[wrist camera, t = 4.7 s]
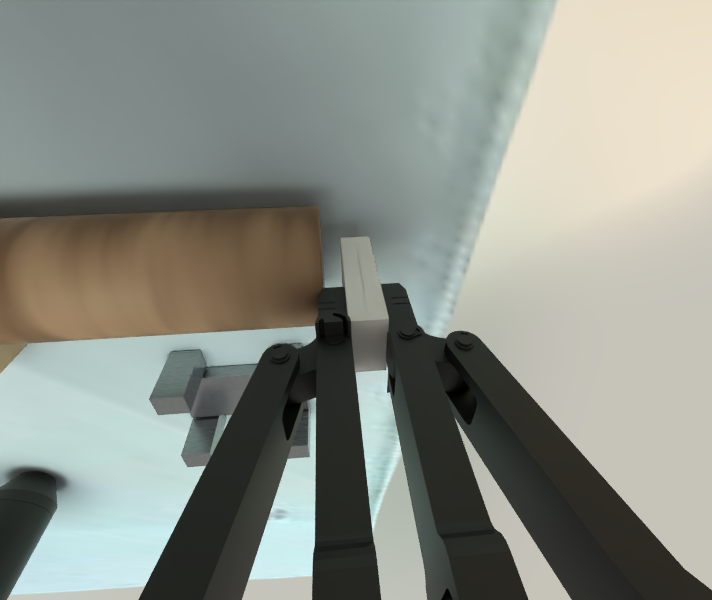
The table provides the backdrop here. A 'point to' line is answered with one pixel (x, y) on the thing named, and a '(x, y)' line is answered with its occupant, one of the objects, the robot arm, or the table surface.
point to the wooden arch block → (9, 354)
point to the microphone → (23, 522)
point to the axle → (158, 273)
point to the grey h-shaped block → (210, 402)
